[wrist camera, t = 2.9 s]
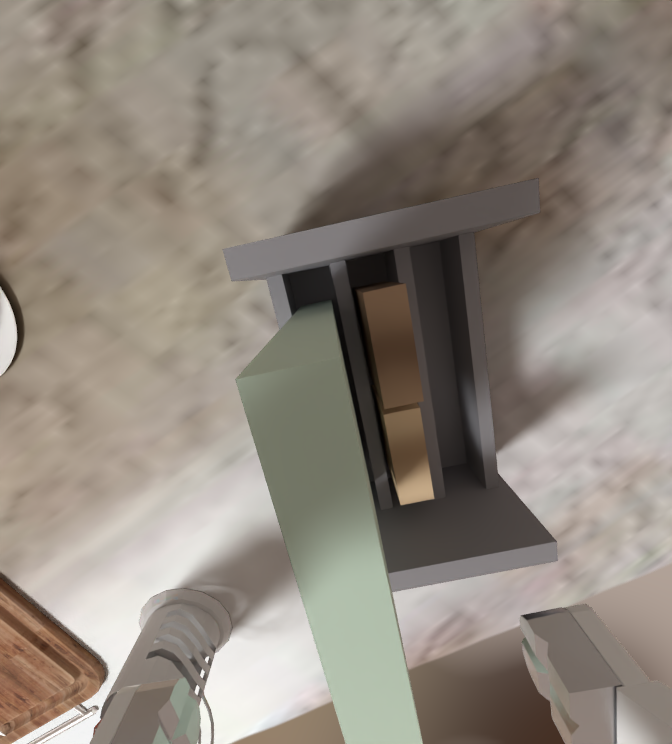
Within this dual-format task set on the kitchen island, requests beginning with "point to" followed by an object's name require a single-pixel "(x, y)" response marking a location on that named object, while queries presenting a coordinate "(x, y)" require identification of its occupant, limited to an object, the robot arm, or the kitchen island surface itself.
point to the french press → (175, 643)
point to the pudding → (6, 333)
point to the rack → (437, 373)
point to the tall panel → (330, 523)
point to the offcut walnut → (389, 342)
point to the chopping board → (40, 671)
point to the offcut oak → (405, 450)
